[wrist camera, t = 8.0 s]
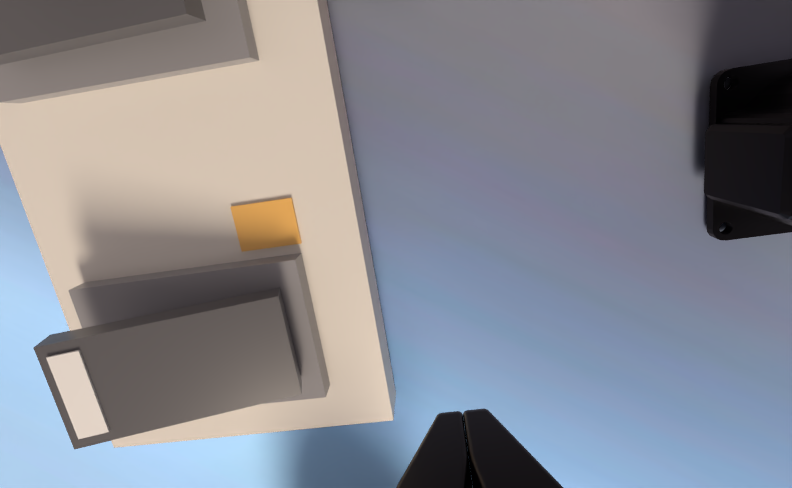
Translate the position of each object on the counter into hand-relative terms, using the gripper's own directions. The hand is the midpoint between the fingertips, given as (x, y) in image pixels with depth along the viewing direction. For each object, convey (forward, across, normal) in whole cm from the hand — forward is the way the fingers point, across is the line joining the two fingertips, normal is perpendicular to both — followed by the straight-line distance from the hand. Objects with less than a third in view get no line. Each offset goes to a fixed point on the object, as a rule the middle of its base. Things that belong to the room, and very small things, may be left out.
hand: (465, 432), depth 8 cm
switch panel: (+12, +10, -6) cm, 16 cm away
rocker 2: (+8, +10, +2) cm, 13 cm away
